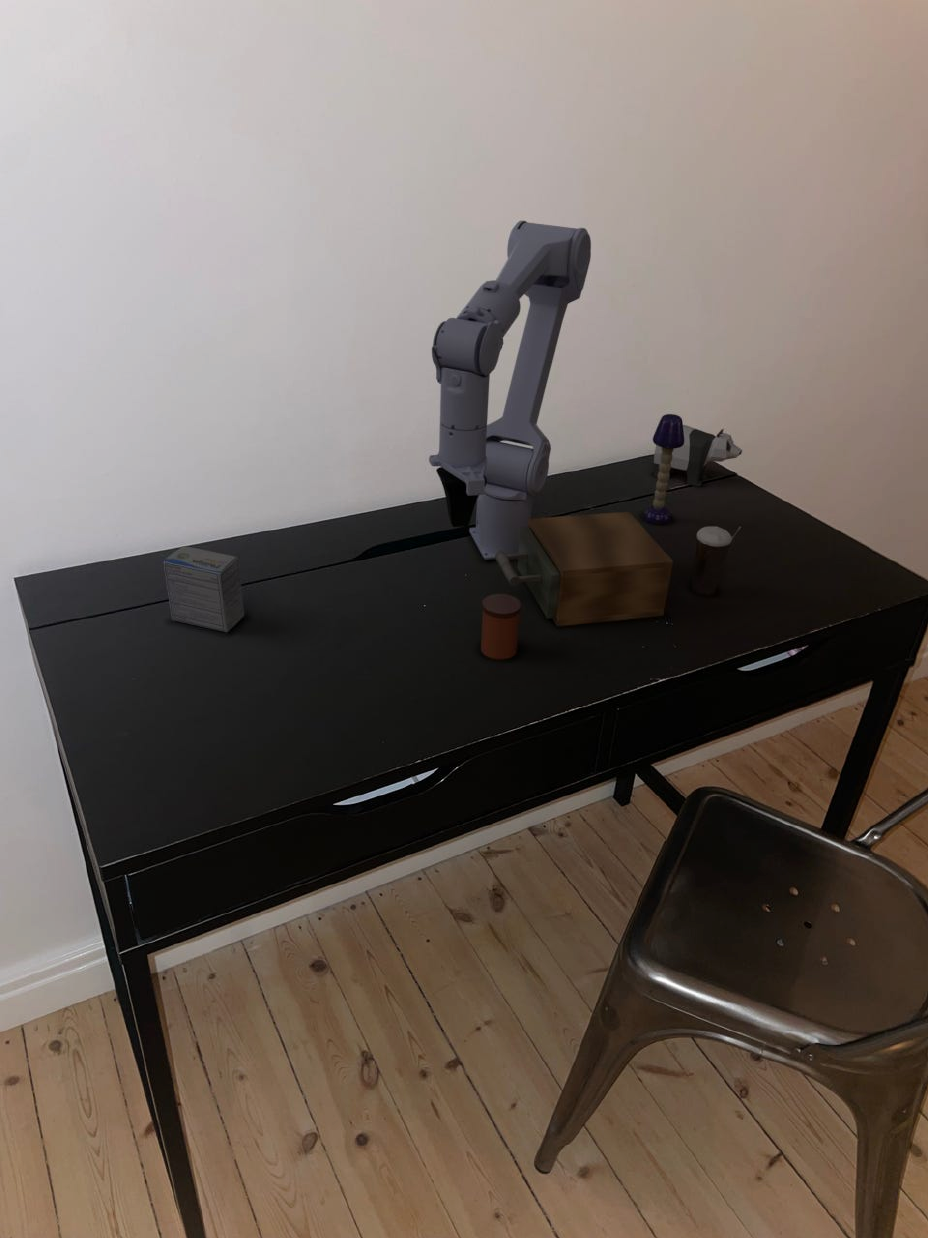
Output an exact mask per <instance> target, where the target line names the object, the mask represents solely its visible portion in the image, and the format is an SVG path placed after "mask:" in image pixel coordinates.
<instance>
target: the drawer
mask: <svg viewBox="0 0 928 1238" xmlns="http://www.w3.org/2000/svg"><path fill="white" fill-rule="evenodd" d="M494 560H495V561H496V563H497V564H498V566H499V569H500V570H501V571H502V573H503V575H504V577H505V578H506V580H507V582H508V584H509V585H510V586H511V587H517V586H519V585H520V583H525V584H526V586H527V588H528V590H530V592H531V594H532V596H533V598H534V600H535V601H536V603H537V605H539V606H538V607H539V608H540V609H541V611H542V612H543V614H544V616H545V618H546V619H547V620H549V619H552V618H556V612H557V603H558V593H559V584H560V574H561V573H560V572H559V570H558V568H557V567H556V565H555V564H554V562H553V561H552V559H551V558H550V556H549V555H548V553H547V552H546V550H545V549H544V547H543V546H542V544H541V543H540V541H538V540H537V538H536V537H535V535H534V534H533V532H532V531H531V529H530V528H529V527H521V529H520V541H519V553H516V554H506V555H505V553H504V552H502V551H499V552H497V553H496V555H495V559H494ZM512 560H517V567H516V569H517V570H518V572H519V574H520V575H518V574H517V572H516V570H515V568H514V567H513V565H512V564H511V562H510V561H512Z"/></svg>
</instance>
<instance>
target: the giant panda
mask: <svg viewBox="0 0 928 1238" xmlns="http://www.w3.org/2000/svg"><path fill="white" fill-rule="evenodd" d="M724 430H725V428H722V429H720V430H719V432H718V433H717V434H716V435H715V434H713V433H710V432H706V431H703V430H700V429H698V428H696V427H692V426H690V425H687V424H683V431H684V444H683V446H681V447H680V448H674V450H673V452H672V456H673V457H672V461H671V462H670V463H671V469H670V471H669V473H674V472H675V469H677V470H681V471H686V476H687V477H686V478H687V480H686V484H687V485H689V486H693V487H694V486H695V487H698V488H700V487H702V485H703V482H702V481H701V480H704V481H705V480H708V474H706V468H707V465H708V463H709V462H719V463H722V462H724V461H726V460H731V459H736V458H738V457H739V456H741V455H742V453H743V450H742V449H741V448H740V447H739V446H737V445H736V444H735V443H734V440H733V438H732V435H731V434H729V433H726V432H724ZM653 454H654V455H653V476H655V477H657V478H658V473H659V471H660V470H659V465H660V462H661V459H660V457H661V454H662V447H659V446H658V445H656V444H655V449H654V453H653Z"/></svg>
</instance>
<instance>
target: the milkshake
mask: <svg viewBox="0 0 928 1238" xmlns="http://www.w3.org/2000/svg"><path fill="white" fill-rule="evenodd" d="M741 528H742V525H741V526H740V525H739V527H738V528H737V530H736V531H735V533H734V534H732V535H731V534H730V533H729V532H728V531H727V530H726V529H723V528H721V527H720V526H716V525H715V526H704V527H701V528H700V529H699V530H698V531H697V533H696V537H695V549H694V551H695V552H694V560H693V561H694V562H693V569H692V580H691V589H692V592H694V593H695V594H698V595H701V596H710V595H711V596H712V595H715V593H716V592H717V589H718V587H719V586H718V585H719V582H720V579H721V575H722V572H723V569H724V565H725V562H726V560H727V559H726V558H727V555H728V552H729V550H730V547H731V543H732V540H733V539H734V537H735V536H736V535H737V533H738V532H739V531H740V529H741Z"/></svg>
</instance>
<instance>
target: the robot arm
mask: <svg viewBox="0 0 928 1238" xmlns="http://www.w3.org/2000/svg"><path fill="white" fill-rule="evenodd" d="M591 251H592V241H591V236H590V234H589V232H588V229H586V228H585V227H578V228H577V227H568V226H559V225H551V224H544V223H536V222H528V221H527V220H519V221H517V222H516V224H515V225H514V226H513V227H512V229H511V232H510V233H509V237H508V239H507V248H506V254H507V259H506V261H505V263H504V265H503V267H502V268H501V269H500V271H499V273H498V274H497V275H498V276H497V277H496V279H495V280H494V279H493V280H486V281H485V282H484V283H482V284H481V285H480V286H479V288H478V289H477V290H476V291H475V293H474V294H473V296H471V298H470V299H469V300H468V302H467V303H466V305H464V307H463V308H462V310H461V311H460V313H459V314H458V315H457V316H456V317H449V318H447V320H444V321H441V322H440V323H439V325H438V326H437V328H436V330H435V332H434V336H433V342H432V346H431V357H432V362H433V364H434V367H435V380H436V382H437V383H438V385H440V391H439V392H440V395H439V429H438V430H439V434H438V436H439V437H438V442H439V443H438V452H437V454H431V455H429V456H428V462H429V464H430V465H431V466H432V467H437V468H436V470H435V472H436V474H437V475H438V478H439V480H440V482H441V485H442V489H443V492H444V496H445V501H446V507H447V513H448V518H449V522H450V524H451V527H452V528H461V527H463V528H464V527H469V525H470V523H471V519H472V516H473V513H474V509H475V506H476V514H475V527H469V529H468V532H469V534H470V536H471V537H472V540H473V541H474V543H475V545H476V547H477V548H478V551H479V552H480V554H481V556H482V557H483V559H484V560H485V561H490V560H496V559H495V555H496V553H497V552H499V551H502V552H504V553H505V555H506V554H516V553H519V541H520V529H521V527H528V519H532V515H533V514H532V513H533V503H534V501H533V500H534V496H536V495H537V494H538V493H539V492H541V491H542V489H543V488H544V486H545V484H546V482H547V479H548V474H549V470H550V469H549V468H550V456H551V451H552V444H551V442H550V440H549V439H548V437H547V436H546V434H545V433H544V432H543V431H542V430H541V428H540V427H539V425H538V421H539V416H540V413H541V408H542V405H543V400H544V397H545V392H546V389H547V386H548V385H547V384H548V381H549V377H550V373H551V369H552V364H553V361H554V356H555V353H556V349H557V345H558V340H559V337H560V332H561V329H562V325H563V321H564V318H565V315H566V311H567V308H568V305H569V304H571V303H573V302H575V301H577V300H579V299H580V298H581V294H582V291H583V289H584V287H585V282H586V278H587V275H588V271H589V267H590V262H591V256H592V252H591ZM523 296H526V297H527V298H528V301H529V307H528V311H527V314H526V319H525V322H524V323H525V324H524V327H523V330H522V335H521V339H520V343H519V348H518V351H517V355H516V359H515V363H514V364H515V365H514V369H513V372H512V375H511V380H510V384H509V388H508V392H507V394H506V395H507V396H506V400H505V404H504V407H503V412H502V415H501V416H500V418H498V419H496V420H493V421H492V422H491V423H488V418H489V417H488V416H489V398H490V397H489V396H490V380H491V379H490V377H491V374H492V372H493V371H494V370H495V369H496V366H497V364H498V362H499V357H500V353H501V350H502V349H503V345H504V337H505V336H506V335H507V333H508V331H509V330H510V328H511V327H512V326H513V324H514V323H515V321H516V320H517V318H518V317H519V316H520V313H521V308H522V307H521V300H520V299H522V297H523ZM507 442H508V443H507ZM509 442H511V443H509ZM512 443H515V444H512ZM517 444H520V445H517ZM522 445H524V446H522ZM527 446H530V447H527ZM531 447H532V448H531Z"/></svg>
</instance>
